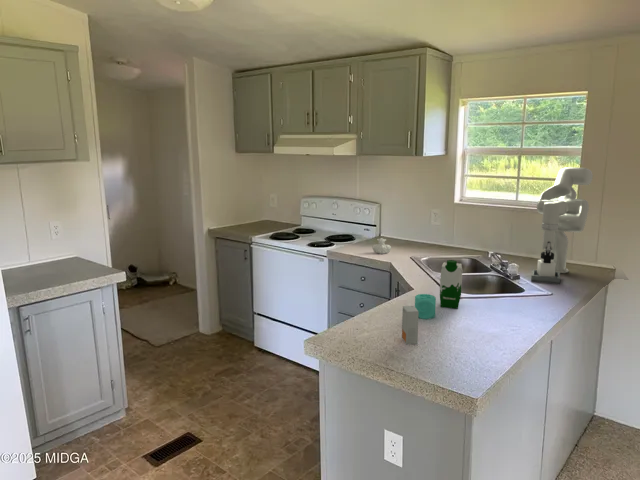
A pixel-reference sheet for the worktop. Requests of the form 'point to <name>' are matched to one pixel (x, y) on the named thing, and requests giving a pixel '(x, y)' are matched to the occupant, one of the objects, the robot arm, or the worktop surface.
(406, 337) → the skincare box
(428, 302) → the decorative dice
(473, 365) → the worktop surface
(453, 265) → the milk carton
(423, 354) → the worktop surface
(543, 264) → the medicine bottle
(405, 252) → the worktop surface
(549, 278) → the tray
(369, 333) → the worktop surface
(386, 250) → the white lobed vase
